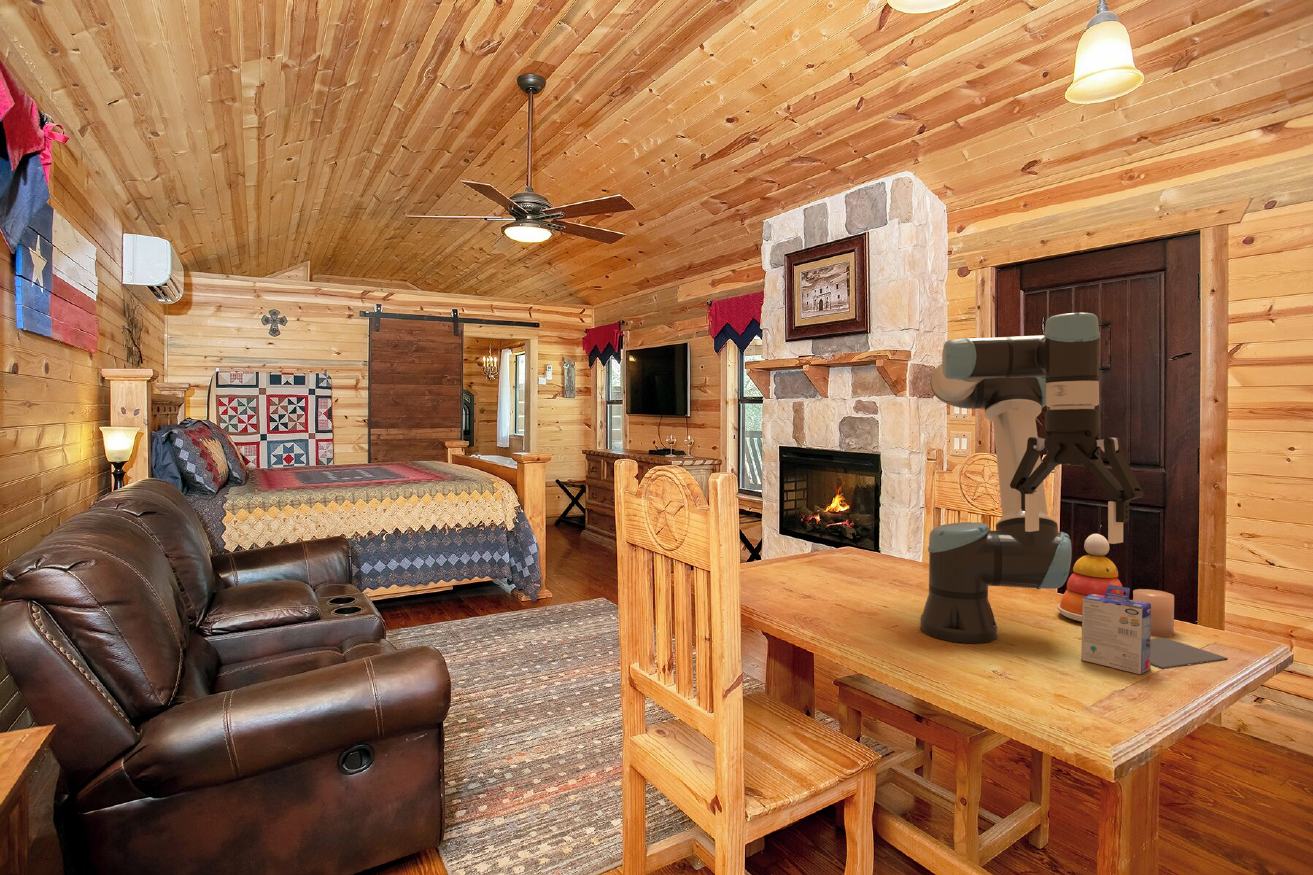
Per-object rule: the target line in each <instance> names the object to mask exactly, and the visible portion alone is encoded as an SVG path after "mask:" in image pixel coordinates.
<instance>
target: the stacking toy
mask: <svg viewBox="0 0 1313 875" xmlns="http://www.w3.org/2000/svg"><path fill="white" fill-rule="evenodd" d="M1083 547H1084V550H1085V551H1086V553H1087V554H1086V555H1083V556H1081V557H1079V558H1078V559H1077V560H1076V561H1075V563H1074V565H1073V568H1072V571H1073V573H1071V574H1070V576H1069V577H1068V579H1067V581H1066V582H1067V583H1066V589H1065V592H1064V593H1063V595H1062V596H1061V599H1060V602H1059V603H1058V604H1057V605H1056V606H1057V610H1058V612H1059V613H1060V615H1062V616H1064V617H1066V618H1068V619H1069V620H1070V619H1071V620H1074V621H1077V622H1081V623H1082V598H1084V597H1086V596H1088V595H1090V594H1096V595H1102V596H1105V594H1106V590H1107V587H1108V585H1114V586H1120V587H1123V584H1122V583H1121V580H1119V571H1118V568H1117V566H1116V565H1115V563H1114V562H1113V561H1112V560H1111V559H1109V558H1108V557H1106V555H1107V554H1108V553H1109V551H1110V543H1108V539H1107V538H1106V537H1105V536H1104V535H1101V534H1099V533H1092V534H1090V535H1088V537H1087V538H1086V539H1085V540H1084V545H1083ZM1110 592H1111V593H1115V594H1121V595H1125V594H1124V593H1125V592H1123V591H1121V590H1110Z"/></svg>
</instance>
